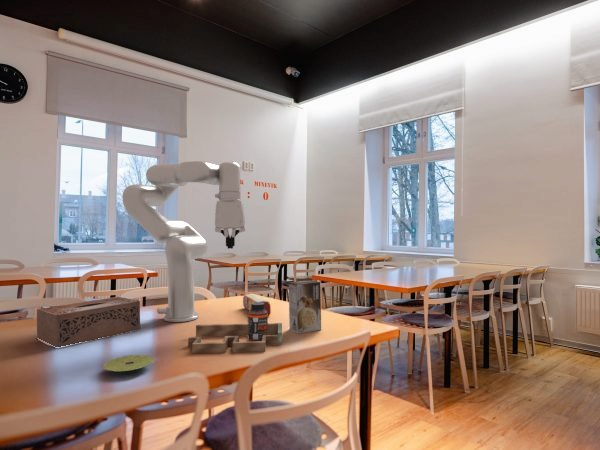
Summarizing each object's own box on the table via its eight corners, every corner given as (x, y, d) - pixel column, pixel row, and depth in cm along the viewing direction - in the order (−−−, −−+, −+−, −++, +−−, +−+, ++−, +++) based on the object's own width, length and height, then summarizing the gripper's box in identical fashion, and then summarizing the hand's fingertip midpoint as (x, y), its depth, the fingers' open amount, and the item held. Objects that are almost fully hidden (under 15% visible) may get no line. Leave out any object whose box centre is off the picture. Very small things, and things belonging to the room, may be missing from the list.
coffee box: (312, 325, 133) (311, 279, 133) (321, 330, 127) (321, 282, 128) (288, 329, 129) (288, 281, 129) (297, 333, 123) (296, 284, 123)
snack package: (242, 308, 164) (242, 292, 164) (257, 307, 166) (257, 291, 166) (254, 319, 144) (254, 301, 144) (271, 317, 146) (271, 300, 146)
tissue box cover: (56, 350, 110) (56, 315, 110) (37, 341, 119) (36, 309, 119) (140, 330, 130) (139, 300, 131) (118, 324, 139) (118, 296, 139)
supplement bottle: (259, 344, 112) (258, 306, 112) (244, 341, 116) (243, 304, 116) (271, 339, 117) (271, 302, 117) (256, 336, 121) (256, 300, 121)
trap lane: (183, 353, 105) (183, 340, 105) (196, 335, 122) (196, 324, 122) (282, 350, 106) (282, 338, 106) (281, 333, 123) (281, 322, 123)
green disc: (127, 360, 100) (127, 352, 100) (163, 364, 97) (163, 356, 97) (92, 376, 89) (92, 367, 89) (131, 381, 86) (131, 372, 86)
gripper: (206, 196, 133) (207, 249, 133) (250, 196, 134) (250, 248, 134) (210, 198, 140) (211, 248, 140) (251, 198, 141) (252, 247, 141)
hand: (230, 248), depth 137 cm, fingers closed
